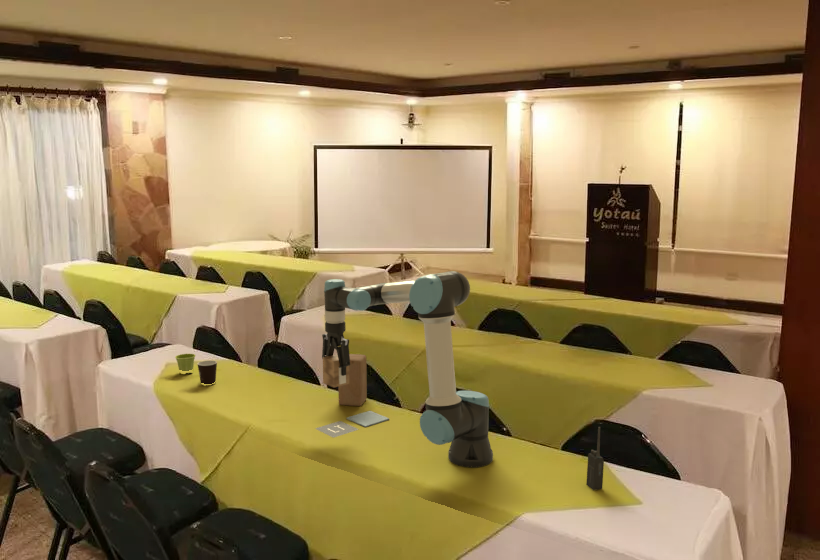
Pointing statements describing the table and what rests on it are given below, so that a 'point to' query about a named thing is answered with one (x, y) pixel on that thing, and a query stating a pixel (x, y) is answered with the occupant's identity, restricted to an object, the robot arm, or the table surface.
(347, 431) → the plate
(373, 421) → the pad
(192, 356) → the plant pot
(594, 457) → the walkie-talkie
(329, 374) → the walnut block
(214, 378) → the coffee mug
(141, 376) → the table surface
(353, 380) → the wooden block
